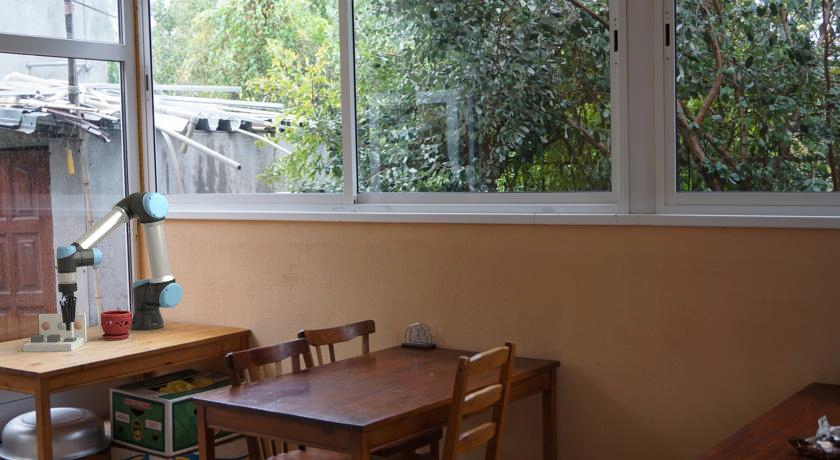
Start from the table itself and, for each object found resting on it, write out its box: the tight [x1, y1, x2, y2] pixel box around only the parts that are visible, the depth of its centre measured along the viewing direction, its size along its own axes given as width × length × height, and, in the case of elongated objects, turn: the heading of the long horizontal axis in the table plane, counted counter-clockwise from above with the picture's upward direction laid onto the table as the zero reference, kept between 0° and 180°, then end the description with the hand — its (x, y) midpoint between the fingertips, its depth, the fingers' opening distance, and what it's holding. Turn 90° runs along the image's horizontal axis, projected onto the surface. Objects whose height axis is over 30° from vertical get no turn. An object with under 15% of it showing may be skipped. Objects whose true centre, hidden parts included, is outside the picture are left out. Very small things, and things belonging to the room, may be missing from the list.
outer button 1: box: [64, 337, 77, 342], centre depth 395 cm, size 4×4×3 cm
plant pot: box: [100, 309, 133, 341], centre depth 415 cm, size 13×13×12 cm
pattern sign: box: [38, 312, 88, 342], centre depth 405 cm, size 20×5×13 cm, turn 89°
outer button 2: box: [29, 334, 44, 343], centre depth 395 cm, size 4×4×3 cm
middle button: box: [47, 334, 60, 342], centre depth 395 cm, size 4×4×3 cm
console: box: [22, 338, 85, 353], centre depth 395 cm, size 20×14×3 cm
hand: (69, 337), depth 395 cm, fingers closed
